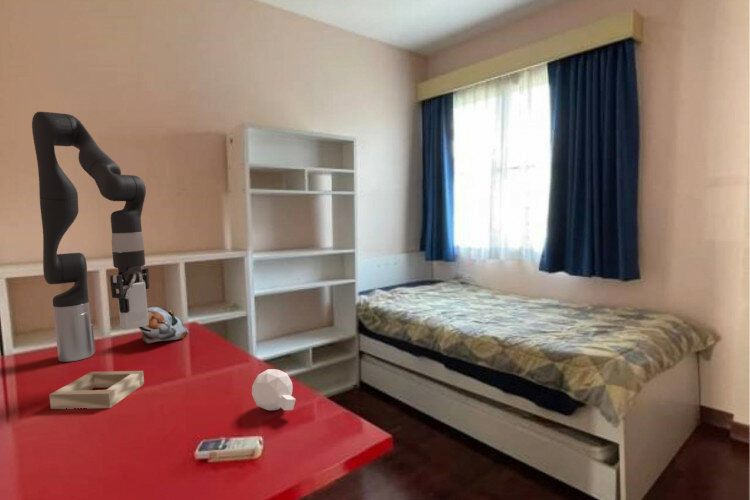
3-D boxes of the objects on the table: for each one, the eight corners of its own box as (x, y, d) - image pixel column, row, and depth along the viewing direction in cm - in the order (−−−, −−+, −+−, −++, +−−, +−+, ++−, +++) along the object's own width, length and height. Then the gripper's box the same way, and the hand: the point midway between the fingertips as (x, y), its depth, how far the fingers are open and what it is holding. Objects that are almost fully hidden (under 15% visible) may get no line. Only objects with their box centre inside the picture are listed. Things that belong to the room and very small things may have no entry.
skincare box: (142, 323, 122) (139, 281, 120) (149, 325, 119) (146, 282, 118) (119, 328, 117) (115, 284, 116) (125, 330, 114) (122, 285, 113)
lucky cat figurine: (196, 336, 156) (184, 304, 147) (163, 360, 147) (148, 327, 138) (169, 318, 164) (157, 287, 155) (136, 340, 155) (120, 307, 146)
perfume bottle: (239, 401, 96) (266, 425, 87) (251, 361, 96) (279, 382, 88) (272, 400, 102) (300, 423, 93) (283, 363, 102) (312, 382, 94)
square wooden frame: (91, 384, 113) (90, 372, 113) (144, 383, 113) (143, 370, 112) (50, 409, 99) (49, 394, 99) (110, 408, 99) (108, 393, 98)
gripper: (130, 247, 123) (134, 303, 125) (97, 252, 109) (102, 316, 110) (156, 246, 123) (160, 303, 124) (126, 251, 108) (131, 315, 110)
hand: (133, 309), depth 117 cm, fingers closed on skincare box, 7 cm apart
